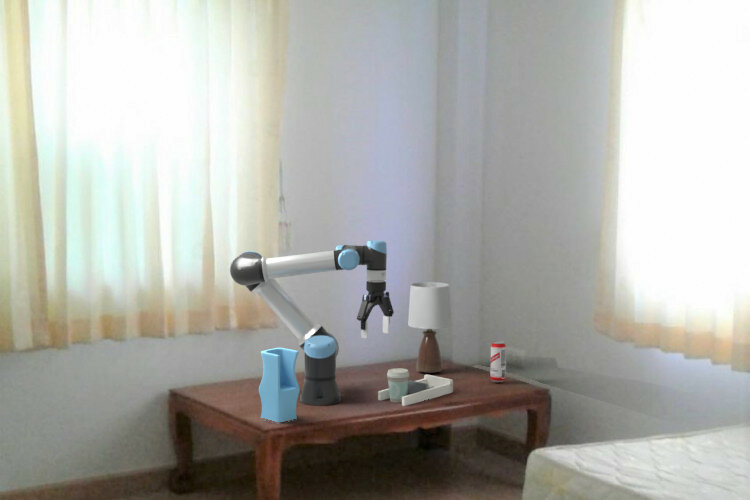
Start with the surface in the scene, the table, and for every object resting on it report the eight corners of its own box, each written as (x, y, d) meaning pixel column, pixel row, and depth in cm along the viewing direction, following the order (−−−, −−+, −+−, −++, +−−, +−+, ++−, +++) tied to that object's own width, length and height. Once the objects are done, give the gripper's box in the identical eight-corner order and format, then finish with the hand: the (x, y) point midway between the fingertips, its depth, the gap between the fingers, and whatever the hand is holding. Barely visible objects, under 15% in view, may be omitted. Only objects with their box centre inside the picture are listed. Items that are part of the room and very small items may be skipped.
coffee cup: (383, 400, 342) (383, 368, 341) (403, 397, 345) (403, 366, 344) (392, 405, 334) (392, 373, 333) (413, 403, 338) (413, 371, 336)
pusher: (425, 397, 345) (426, 384, 344) (407, 393, 351) (407, 380, 350) (442, 392, 352) (442, 379, 352) (424, 388, 358) (424, 376, 358)
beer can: (498, 383, 368) (499, 344, 366) (487, 380, 372) (487, 342, 371) (508, 380, 372) (509, 342, 370) (497, 378, 376) (497, 340, 375)
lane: (404, 407, 333) (404, 393, 332) (378, 400, 341) (378, 387, 341) (452, 392, 354) (453, 379, 353) (427, 386, 363) (427, 374, 362)
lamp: (410, 364, 402) (410, 281, 398) (452, 365, 399) (452, 282, 395) (405, 374, 383) (405, 287, 380) (449, 375, 381) (450, 288, 377)
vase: (278, 428, 306) (277, 355, 304) (259, 423, 313) (258, 351, 310) (299, 422, 314) (299, 351, 311) (280, 416, 320) (279, 347, 318)
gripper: (363, 284, 336) (362, 341, 338) (403, 278, 356) (402, 332, 358) (348, 283, 340) (347, 338, 342) (387, 276, 360) (386, 329, 362)
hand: (375, 335), depth 350 cm, fingers open, 13 cm apart
